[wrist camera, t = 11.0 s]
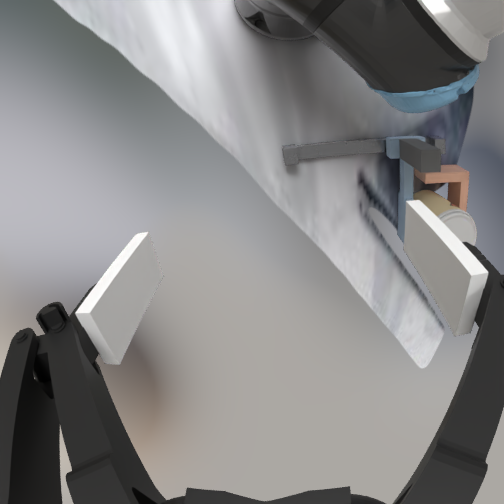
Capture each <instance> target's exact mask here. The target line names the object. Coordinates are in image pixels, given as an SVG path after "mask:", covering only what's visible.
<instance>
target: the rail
mask: <svg viewBox="0 0 504 504" xmlns="http://www.w3.org/2000/svg"><path fill="white" fill-rule="evenodd" d="M424 138H425V142H426V143H428V144H430V145H432V146H435V147H437V148H439V149H441V154H445V139H444V138H441V137H439V136H427V137H424ZM282 149H283V156H284V163H285V165H293V164H298V160H300V159H309V158H319V157H329V156H340V155H352V154H365V153H381V152H386V138H381V139H364V140H349V141H337V142H326V143H315V144H306V145H297V146H296V145H295V144H294V145H286V146H282Z"/></svg>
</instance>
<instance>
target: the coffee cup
mask: <svg viewBox="0 0 504 504" xmlns="http://www.w3.org/2000/svg"><path fill="white" fill-rule="evenodd" d="M413 199H414V200H420V201H421V202H422V203H423V204H424V205H425V206H426V207H427V208H428V209H429V210H430V211H431V212H433V213H434V214H435V215H436V216H437V217H438V218H439V219H440V220H441V221H442V222H443V223H444V224H445V225H446V226H447V227H448V228H449V229H450V230H451V231H452V233H453V234H454V235H455V236H456V237H457V238H458V239H459V240H460V241H461V242H468V243H470V244H472V245H473V246H475V243H476V238H477V230H476V226H475V222H474V220H473V218H472V217H471V216H470V215H469V214H468V213H467V212H465V211H463V210H461V209H460V208H458V207H457V206H456V205H454V204H453V203H451V202H449V201H448V200H446V199H445V198H443V197H442V196H440V195H438V194H437V193H435V192H433V191H431V190H420V191H418V192H416V193H415V194H413Z"/></svg>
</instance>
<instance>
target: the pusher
mask: <svg viewBox="0 0 504 504" xmlns="http://www.w3.org/2000/svg"><path fill="white" fill-rule="evenodd" d="M386 152H387V156H388V157H389V158H390V159H396V158H400V191H398V233H397V234H398V236H399V237H400V239H401V240H402V242H403V243H404V236H405V215H406V201H413V200H414V199H413V181H414V168H415V169H416V170H418V171H419V172H421V173H429V172H441V149H439V148H437V147H435V146H432V145H430V144H428V143H426V142H425V138H424V137H421V136H398V137H386ZM413 167H414V168H413Z"/></svg>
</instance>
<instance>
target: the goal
mask: <svg viewBox="0 0 504 504" xmlns="http://www.w3.org/2000/svg"><path fill="white" fill-rule="evenodd" d="M414 171H415V176H416V177H417V178H419V179H420V180H421V181H422V182H424V183H425V184H429V183H446V182H448V201H449V202H451V203H453V204H454V205H456V206H457V207H458V208H460V209H461V210H463V211H465V212H466V209H467V197H468V185H469V172H468V171H466V170H465V169H463V168H461V167H460V166H458V165H441V172H429V173H421V172H419V171H418V170H416V169H415V168H414Z"/></svg>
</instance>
